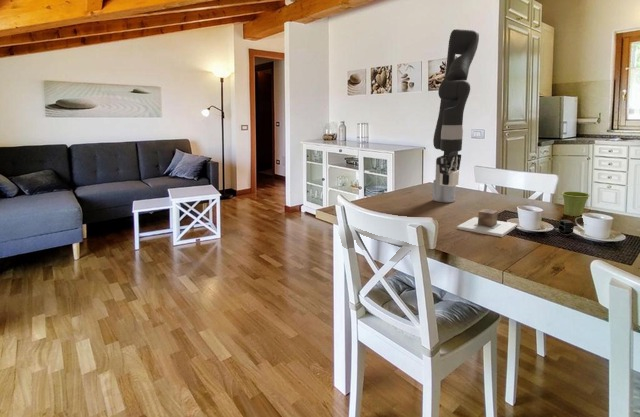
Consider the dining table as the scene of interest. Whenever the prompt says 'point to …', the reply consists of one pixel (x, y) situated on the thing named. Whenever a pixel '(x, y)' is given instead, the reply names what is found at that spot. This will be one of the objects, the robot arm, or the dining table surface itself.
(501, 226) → the board
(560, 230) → the black irregular block
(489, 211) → the walnut block
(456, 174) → the cream block
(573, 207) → the plant pot
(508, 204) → the dining table surface
